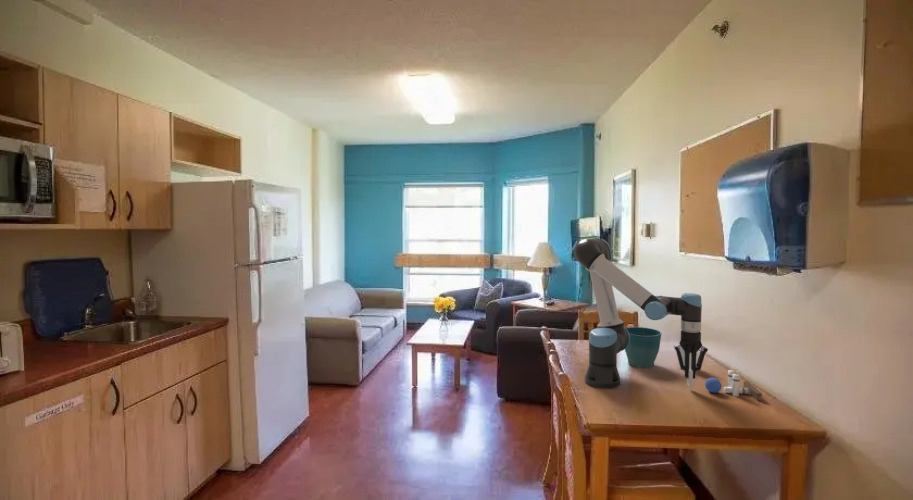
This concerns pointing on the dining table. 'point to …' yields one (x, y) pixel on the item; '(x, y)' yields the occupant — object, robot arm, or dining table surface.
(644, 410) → the dining table surface
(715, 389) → the ball
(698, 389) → the dining table surface
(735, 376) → the pin
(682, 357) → the beverage can
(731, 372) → the pin
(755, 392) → the wall
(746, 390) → the front pin
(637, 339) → the flower pot
